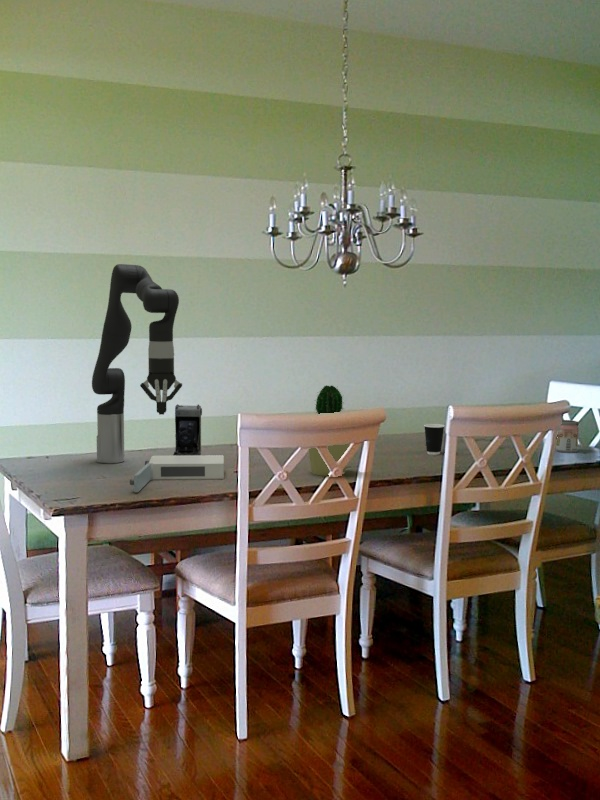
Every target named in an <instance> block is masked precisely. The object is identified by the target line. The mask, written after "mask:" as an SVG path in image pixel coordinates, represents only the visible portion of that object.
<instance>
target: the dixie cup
mask: <svg viewBox="0 0 600 800" xmlns="http://www.w3.org/2000/svg"><path fill="white" fill-rule="evenodd" d="M423 426H424V433H425V434H424V436H425V447H426V452H427V453H426V454H428V455H433V456H436V455H440V454H441V452H442V446H443V439H444V430H445V427H446V425H445V424H441V423H440V424H439V423H426V424H424V425H423Z"/></svg>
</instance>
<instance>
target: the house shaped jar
mask: <svg viewBox="0 0 600 800" xmlns="http://www.w3.org/2000/svg"><path fill="white" fill-rule="evenodd" d="M561 420H562V424H561V426H560V429H559V432H558V438H557V445H556V444H555V450H556V451H557V452H559V453H565V454H573V453H574V454H575V453H577V451H578V449H579V424H580V422H579V421H577V420H571V419H561Z"/></svg>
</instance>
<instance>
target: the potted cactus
mask: <svg viewBox="0 0 600 800" xmlns="http://www.w3.org/2000/svg"><path fill="white" fill-rule="evenodd" d="M323 385H324V384H323ZM316 397H317V398H316V401H315V402H316V403H315V411H316V413H315V414H317V415H318V414H320V413H334V412H340V413H341V412H343V410H345V408H344V407H343V404H345V402H343V398H344V395H342V393H341V392H340V390H339V389H338V388H337V387H336V386H334V385H333V384H332V385H324V386H323V387H322V388H321V389H320V390H319V392H318V394H317V396H316ZM348 447H349V448H350V445H349V444H345V445H333V446H328V450H329V452H330V453H331V454H332V456H333V458H334V459H335V461H338V460H339V459H340V458H341V456H342V455H343V454H344V452H345V451H346V450H347V448H348ZM308 454H309V456H308V457H309V461H310V462H309V463H310V471H311V474H313V475H317V476H323V477H328V476H327V475H328V473H329V469H328V467H327V465H326V464H325V462H324V461H323V459H322V458H321V456H320V454H319V453H318V450H317V449H316V448H311V449H308ZM346 468H347V466H346V467H345V468H344V469H343V472H345V473H346V470H347V469H346Z"/></svg>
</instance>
